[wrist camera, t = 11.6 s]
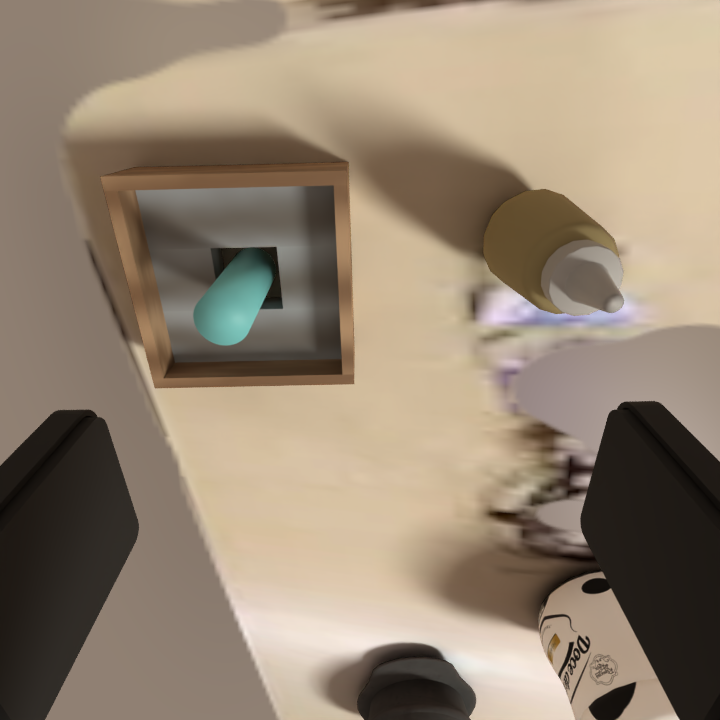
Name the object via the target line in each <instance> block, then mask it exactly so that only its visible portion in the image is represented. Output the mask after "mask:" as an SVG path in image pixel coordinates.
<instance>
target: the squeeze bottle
mask: <svg viewBox="0 0 720 720" xmlns="http://www.w3.org/2000/svg"><path fill="white" fill-rule="evenodd" d="M483 255H484V257H485V260H486V262H487V264H488V267H489V269H490V271H491V272H492V273H493V274H495V275H496V276H497V277H498V278H499V279H500V280H501V281H502V282H504V283H505V284H506V285H508V286H509V287H511V288H512V289H513V290H515V291H516V292H517V293H519V294H520V295H521V296H523V297H524V298H525V299H527V300H528V301H529V302H531V303H532V304H534V305H535V306H536V307H538V308H539V309H541V310H544V311H548V312H551V313H554V314H562V313H566V314H570V315H573V316H579V315H589V314H591V313H593V312H595V311H598V310H602V311H605V312H608V313H614V312H616V311H618V310H619V309H621V308H622V306H623V304H624V299H623V296H622V295H621V293H620V291H619V288H620V287H621V284H622V278H623V272H624V271H623V268H622V264H621V261H620V258H619V254H618V250H617V247H616V243H615V240H614V238H613V237H612V236H611V235H610V234H609V233H608V232H607V231H606V230H605V229H604V228H603V227H602V226H601V225H599V224H598V223H597V222H596V221H595V220H593V219H592V218H591V217H590V216H588V215H587V214H586V213H585V212H584V211H582V210H581V209H580V208H579V207H577V206H576V205H575V204H574V203H573V202H571V201H570V200H569V199H568V198H566V197H565V196H564V195H562V194H559V193H556V192H553V191H550V190H547V189H541V190H532V191H524V192H523V193H521V194H519V195H517V196H515V197H513V198H511V199H509V200H507V201H506V202H504V203H503V204H502V205H501V206H500V207H499V208H498V209H497V210H496V211H495V213H494V214H493V215H492V217H491V219H490V222H489V224H488V227H487V229H486V231H485V234H484V246H483Z"/></svg>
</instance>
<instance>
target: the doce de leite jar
mask: <svg viewBox="0 0 720 720" xmlns="http://www.w3.org/2000/svg"><path fill="white" fill-rule="evenodd" d="M538 626H539V633H540V638H541V643H542V646H543V649H544V652H545V654H546V656H547V658H548V660H549V662H550V664H551V665H552V667H553V669H554V670H555V672H556V673H557V675H558V676H559V678H560V680H561V681H562V683H563V685H564V687H565V690H566V692H567V695H568V698H569V701H570V704H571V707H572V710H573V713H574V716H575V719H576V720H679V718H678V717H677V715H676V713H675V711H674V709H673V707H672V705H671V703H670V701H669V699H668V697H667V695H666V693H665V692H664V690H663V688H662V686H661V684H660V682H659V680H658V678H657V676H656V674H655V672H654V670H653V668H652V666H651V665H650V663H649V661H648V659H647V657H646V655H645V653H644V651H643V649H642V647H641V645H640V643H639V641H638V639H637V638H636V636H635V634H634V632H633V630H632V628H631V626H630V624H629V622H628V620H627V618H626V616H625V614H624V612H623V611H622V609H621V607H620V605H619V603H618V601H617V599H616V597H615V595H614V593H613V591H612V589H611V587H610V585H609V584H608V582H607V580H606V578H605V576H604V574H603V572H602V570H599V571H591V572H586V573H583V574H581V575H579V576H576V577H573V578H570V579H568V580H566V581H565V582H564V583H562V584H561V585H559V586H558V587H556V588H555V589H554V590H552V591H551V593H550V594H549V595H548V596H547V597H546V599H545V600H544V601H543V603H542V605H541V607H540V612H539V616H538Z"/></svg>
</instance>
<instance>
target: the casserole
mask: <svg viewBox="0 0 720 720" xmlns="http://www.w3.org/2000/svg"><path fill="white" fill-rule="evenodd" d="M475 705H476V697H475V693H474V691H473V690H472V688H471V687H470V686H469V685H468V684H467V683H466V682H465V681H464V680H463V679H462V678H461V677H460V676H459V674H458V673H457V671H456V669H455V668H454V666H453V665H452V664H451V663H449V662H447V661H445V660H441V659H437V658H430V657H408V658H400V659H396V660H392V661H388V662H385V663H383V664H381V665H379V666H378V667H376V668H375V669H374V670H373V673H372V675H371V677H370V680H369V683H368V684H367V686H366V687H365V688H364V690H363V691H362V692H361V694H360V695H359V698H358V701H357V707H358V710H359V713H360V715H361V716H362V717H363V719H364V720H471V719H470V718H469V716H470V715H471V713H472V712H473V710H474V708H475Z"/></svg>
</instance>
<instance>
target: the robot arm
mask: <svg viewBox="0 0 720 720" xmlns="http://www.w3.org/2000/svg"><path fill="white" fill-rule="evenodd" d="M581 529H582V533H583V535H584V537H585V539H586V541H587V543H588V545H589V547H590V549H591V551H592V553H593V555H594V557H595V558H596V560H597V562H598V564H599V566H600V568H601V570H602V572H603V574H604V576H605V578H606V580H607V582H608V584H609V585H610V587H611V589H612V591H613V593H614V595H615V597H616V599H617V601H618V603H619V605H620V607H621V609H622V611H623V612H624V614H625V616H626V618H627V620H628V622H629V624H630V626H631V628H632V630H633V632H634V634H635V636H636V638H637V639H638V641H639V643H640V645H641V647H642V649H643V651H644V653H645V655H646V657H647V659H648V661H649V663H650V665H651V666H652V668H653V670H654V672H655V674H656V676H657V678H658V680H659V682H660V684H661V686H662V688H663V690H664V692H665V693H666V695H667V697H668V699H669V701H670V703H671V705H672V707H673V709H674V711H675V713H676V715H677V717H678V718H679V720H720V462H719V461H718V460H717V459H716V458H715V457H714V456H713V455H712V454H711V453H710V452H709V451H708V450H707V449H706V448H705V447H704V446H703V445H702V444H701V443H700V442H699V441H698V440H697V439H696V438H695V437H694V436H693V435H692V434H691V433H690V432H689V431H688V430H687V429H686V428H685V427H684V426H683V425H682V424H681V423H680V422H679V421H678V420H677V419H676V418H675V417H674V416H673V415H672V414H671V413H670V412H669V411H668V410H667V409H666V408H665V407H664V406H663V405H662V404H660V403H659V402H655V401H644V402H643V401H642V402H623V403H621V404H620V405H619V406H618V408H617V410H612V411H611V412H610V413H609V415H608V418H607V422H606V426H605V429H604V433H603V436H602V440H601V444H600V447H599V451H598V455H597V458H596V462H595V466H594V469H593V473H592V476H591V480H590V484H589V487H588V491H587V495H586V498H585V502H584V506H583V510H582V513H581ZM138 530H139V524H138V519H137V516H136V513H135V510H134V507H133V504H132V501H131V498H130V495H129V491H128V489H127V485H126V482H125V479H124V476H123V473H122V470H121V467H120V464H119V461H118V457H117V454H116V451H115V448H114V446H113V442H112V439H111V436H110V433H109V430H108V427H107V424H106V422H105V420H104V419H102V418H100V417H97V415H96V414H95V413H94V412H93V411H91V410H58V411H55V412H54V413H53V414H51V415H50V416H49V417H48V418H47V419H46V420H45V421H44V422H43V423H42V424H41V425H40V426H39V427H38V428H37V429H36V430H35V432H33V433H32V434H31V435H30V436H29V437H28V438H27V439H26V440H25V441H24V442H23V443H22V444H21V445H20V446H19V447H18V448H17V450H15V451H14V453H12V455H11V456H10V457H9V458H8V459H7V460H6V461H5V462H4V463H3V464H2V465H1V466H0V720H45V719H46V717H47V714H48V713H49V711H50V709H51V707H52V705H53V703H54V701H55V699H56V697H57V695H58V693H59V691H60V689H61V687H62V685H63V683H64V681H65V679H66V677H67V676H68V674H69V672H70V670H71V668H72V666H73V664H74V662H75V659H76V658H77V656H78V654H79V652H80V650H81V648H82V646H83V644H84V642H85V640H86V638H87V636H88V634H89V632H90V630H91V628H92V626H93V625H94V623H95V621H96V619H97V617H98V615H99V613H100V610H101V609H102V607H103V605H104V603H105V601H106V599H107V597H108V595H109V593H110V591H111V589H112V587H113V585H114V583H115V581H116V579H117V577H118V575H119V574H120V572H121V569H122V567H123V566H124V564H125V562H126V560H127V558H128V556H129V554H130V552H131V550H132V548H133V546H134V544H135V542H136V540H137V536H138Z"/></svg>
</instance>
